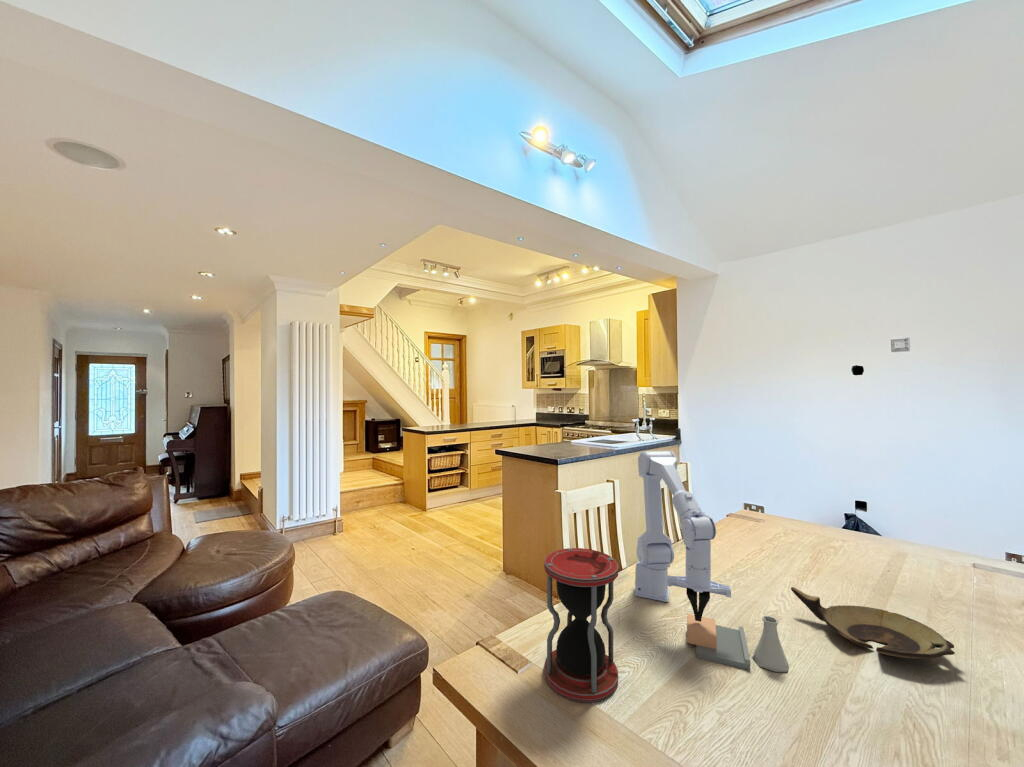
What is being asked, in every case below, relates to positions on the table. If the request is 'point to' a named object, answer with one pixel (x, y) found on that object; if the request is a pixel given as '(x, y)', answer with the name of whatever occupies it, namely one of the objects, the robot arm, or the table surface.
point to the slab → (701, 632)
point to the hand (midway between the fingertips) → (698, 619)
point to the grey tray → (727, 648)
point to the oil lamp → (880, 629)
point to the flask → (770, 648)
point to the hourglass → (581, 625)
